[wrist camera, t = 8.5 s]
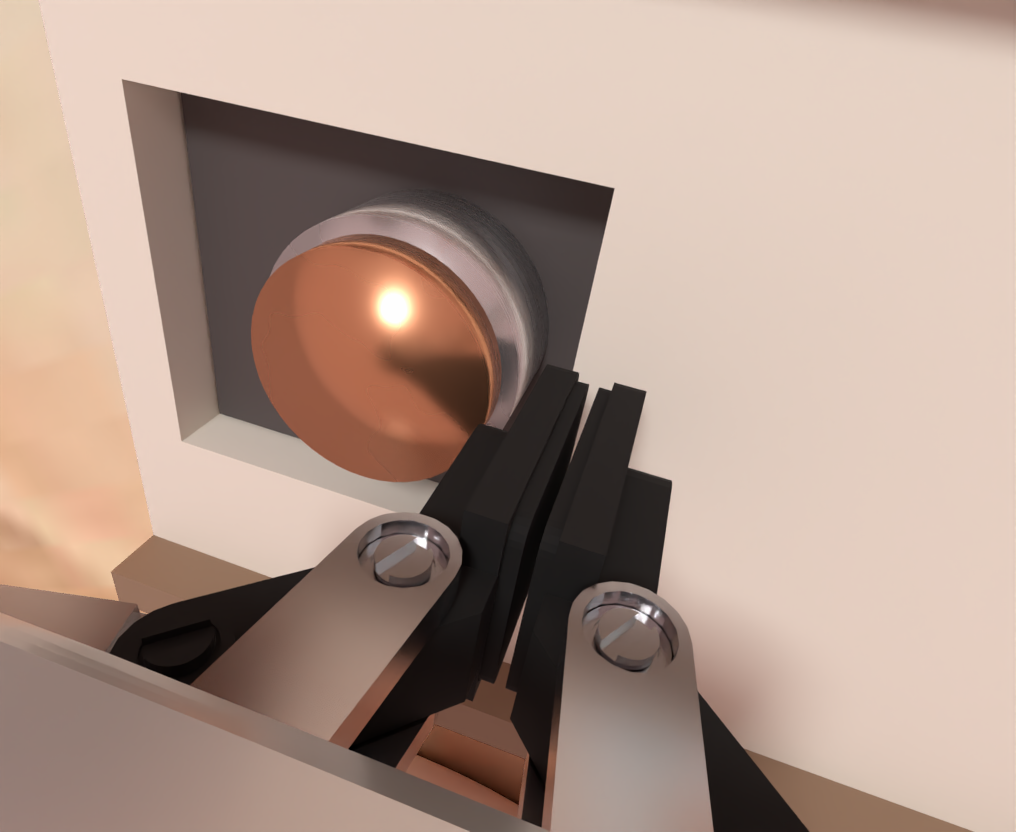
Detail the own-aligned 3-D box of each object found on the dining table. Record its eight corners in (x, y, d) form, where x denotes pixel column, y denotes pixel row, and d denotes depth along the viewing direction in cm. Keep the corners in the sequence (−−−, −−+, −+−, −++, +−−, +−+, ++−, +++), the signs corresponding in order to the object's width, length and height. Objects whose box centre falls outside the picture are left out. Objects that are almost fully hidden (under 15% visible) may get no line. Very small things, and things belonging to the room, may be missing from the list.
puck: (581, 239, 12) (540, 293, 9) (513, 449, 15) (468, 533, 12) (336, 152, 12) (237, 182, 10) (316, 370, 15) (234, 436, 13)
